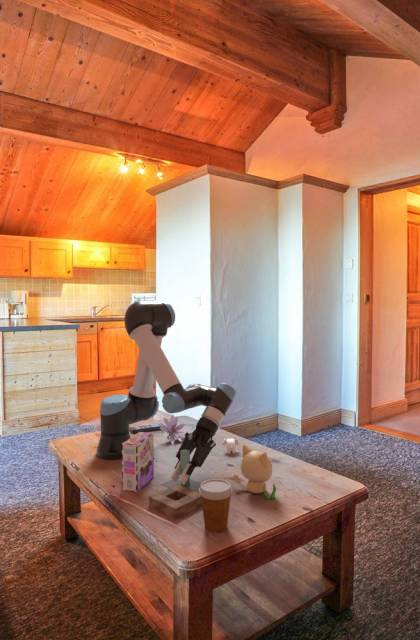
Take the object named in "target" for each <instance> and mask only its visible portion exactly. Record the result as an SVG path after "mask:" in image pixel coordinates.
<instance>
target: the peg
mask: <svg viewBox="0 0 420 640" xmlns="http://www.w3.org/2000/svg"><path fill="white" fill-rule="evenodd" d="M180 461H181V474H180V476H181V475H182V473H183V471H184V470H185V468H186V466H187V464H188V463H189V461H190V462H191V454H190V451H189V450H181V451H180ZM189 464H190V463H189ZM190 465H191V464H190ZM190 479H191V475H190V476H189V477H188V479H187V481H186V483H185V484H184V485H182V484H181V486H183V487H189V486H190Z"/></svg>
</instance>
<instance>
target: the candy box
mask: <svg viewBox="0 0 420 640" xmlns="http://www.w3.org/2000/svg"><path fill="white" fill-rule="evenodd" d="M130 437H131V438H130V439H128V440H127V441H125V442H124V443H122V458H121V477H122V478H121V485H122V488H121V490H122V491H127V492H133V493H138V492H139V491H140V490H141V489H142V488H143V487H144V486H146V484H148V482H150V481H151V479H153V478H154V477H155V469H154V468H155V463H154V461H155V460H154V459H155V458H154V457H155V456H154V432H145V431H144V432H143V431H138V432H137V433H136V434H134V435H133V436H130Z"/></svg>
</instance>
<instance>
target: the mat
mask: <svg viewBox="0 0 420 640" xmlns="http://www.w3.org/2000/svg"><path fill="white" fill-rule="evenodd" d="M180 477H181V475H180V476H179V478H178V479H177V481H176V482H175V481H174V480H172V479H171V480H168V481H165V482H163V483H161V484H160V486H163V487H165V488H169V487H171V486H174V485H176V484H178V485H181V483H180V482H179V479H180ZM201 483H202V482H199V481H197V480H194V479H192V478H190V486H189V487H186V488H188V489H191V490H193V491H197V490H199V488H200V486H201Z"/></svg>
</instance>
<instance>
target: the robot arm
mask: <svg viewBox="0 0 420 640" xmlns="http://www.w3.org/2000/svg"><path fill="white" fill-rule="evenodd" d="M123 321H124V327H125V331H126V333H127V335H128V336H129V339H131V340H133V341H134V343H135V344H136V346H137V348H138V349H139V352H138V357H137V364H136V370H135V375H134V379H133V380H134V381H133V386H131V387H130V388H129V389H128V395H127V394H122V393H121V394H116V395H115V394H113V395H109V396H106V397H104V398H103V399H102V400H101V402H100V407H99V413H100V417H99V418H100V436H99V437H100V438H99V440H98V444H97V447H96V456H97V457H98V458H101V459H105V460H119V459H122V443H124V442H125V441H127V440H128V439H130V438H131V437H132V436H131V435H130V425H132V424H135V423H138V422H141V421H147V420H149V419H151V418H153V417H154V416H155V415H157V413H158V410H159V408H160V407H159V406H160V401H159V397H158V396H157V395H156V394H157V393H156V391H155V390H154V386H155V385H154V384H155V381H156V383H157V385H158V386H159V389H160V390H161V392H162V394H163V396H162V398H161V403H162V408H163V410H164V411H165V412H166V413H167V414H171V415H173V414H179V413H181V412H184V411H187V410H190V409H195V408H196V407H199V406H200V407H201V406H203V407H205V408H204V410H203V412H202V414H201V417H199V419H198V421H197V423H196V425H195V429H194V430H193V431H192V432H190V433H189V432H185V433H184V434H185V438H183V441H181V444H180V446H179V449H178V451H177V452H176V454H175V457H176V458H177V460H178V461H177V462H176V464H175V467H174V471H173V472H172V474H171V476H170V478H171V480H174V481H175V482H176V481H177V479H178V478H179V476H181V477H180V479H179V482H180V483H181V484H182V485H184V484H185V483H186V481H187V479H188V477H189V476H190V477H191V476H192V474H193V473H194V470H195V468H202V466H203V464H205V462H206V459H207V458H208V456H209V454H210V453H211V451H212V450H213V449H214V448H215V447H216V446H217V443H216V441H214V439H213V437H215V435H216V433H217V431H218V430H219V427H220V425H221V424H222V422H223V420H224V418H225V416H226V414H227V412H228V410H229V408H230V407H231V405H232V404H233V402H234V399H235V397H236V394H237V391H236V390H235V389H234V387H233V386H232V385H231V384H229V383H226V382H221V383H219V384H218V385H217V387H211V386H209V385H208V386H207V385H203V384H200V383H190V384H189V385H188V386H186V388H184V386H183V384H182V383H181V381H180V380H179V378H178V376H177V373H176V372H175V370H174V369H173V367H172V365H171V363H170V361H169V359H168V358H167V356H166V354H165V352H164V351H163V349H162V344H163V343H162V341H163V338H165V337H166V336H167V334H168V329H170V328H171V327H172V326H174V324H175V322H176V313H175V309H174V308H173V306H172V305H171V304H170V303H169V302H167V301H165V300H148V301H147V300H140V301H139V300H138V301H134V302H133V303H132V304H130V305H129V306H128V308H127V309H126V311H125V313H124V318H123ZM181 450H189V451H190V455H192V453H193V455H192V457H191V459H190V461H189V463H190V464H189V463H188V464H187V466H186V468H185V470H184V471H183V473H182V475H181V461H180V451H181ZM194 450H195V451H194ZM193 451H194V452H193Z"/></svg>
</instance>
